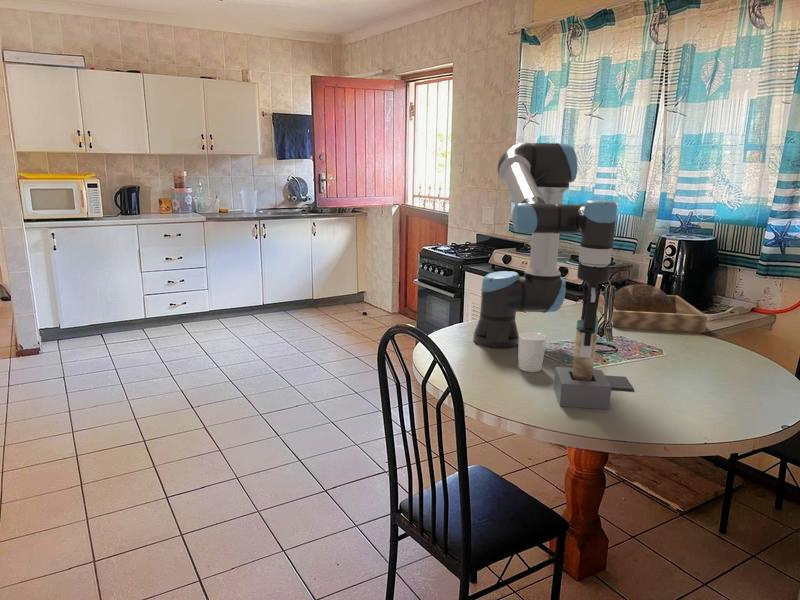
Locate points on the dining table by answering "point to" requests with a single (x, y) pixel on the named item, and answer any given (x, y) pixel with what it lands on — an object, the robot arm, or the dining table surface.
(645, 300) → the bread
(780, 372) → the dining table surface
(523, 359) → the white cup
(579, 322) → the plug
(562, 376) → the socket
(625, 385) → the mat
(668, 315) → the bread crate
